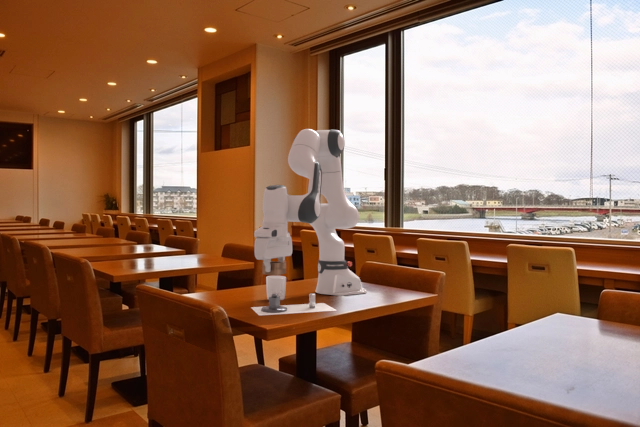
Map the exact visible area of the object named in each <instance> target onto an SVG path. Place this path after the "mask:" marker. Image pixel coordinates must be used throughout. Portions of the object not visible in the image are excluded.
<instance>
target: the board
mask: <svg viewBox="0 0 640 427" xmlns="http://www.w3.org/2000/svg"><path fill="white" fill-rule="evenodd" d="M266 306H267V305H266ZM266 306H253V307H250V309H252V310H253V312H255V314H257V315H258V316H259V317H260V316H271V315H272V316H273V315H274V316H275V315H290V314H292V315H293V314H303V313H306V314H308V313H317V312H318V313H321V312H337V311H338V309H335V308H334V307H332V306H330V305H328V304H327V303H324V302H319V303H316V302H315V308H309V303H304V304H303V303H302V304H287V305H286V304H284V305H281V304H280V306H284V307H287V311H285V312H279V313H268V312H263V311H262V310H261V308H262V307H266Z"/></svg>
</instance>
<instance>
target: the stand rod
mask: <svg viewBox="0 0 640 427" xmlns="http://www.w3.org/2000/svg"><path fill="white" fill-rule="evenodd" d="M308 297H309V298H308V304H309V308H315V304H316V293H309V294H308Z"/></svg>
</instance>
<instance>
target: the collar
mask: <svg viewBox="0 0 640 427" xmlns="http://www.w3.org/2000/svg"><path fill="white" fill-rule="evenodd" d="M270 265H271V267H272V271H271V272H266V271H265V265H264V262H262V275H267V276H283V275H285V274H287V261H284V262H278V261H275V260H273V261H272V260H271V262H270Z"/></svg>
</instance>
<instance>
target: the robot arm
mask: <svg viewBox="0 0 640 427" xmlns="http://www.w3.org/2000/svg"><path fill="white" fill-rule="evenodd" d="M344 150H345V137H344V134H343V133H342V132H341V131H340V130H338V129H318V130H314V129H312V128H305V129H302V130H300V131H299V132H298V133H297V134H296V135H295V137H294V138H293V142H292V144H291V146H290V149H289V152H288V155H287V163H288V166H289V168H290V169H291V170H292V172H294V173H295V174H296V175H298V176H301V177H303V178H306V179H308V188H307V193H305V194H302V195H301V194H300V195H298V194H297V195H296V194H295V195H292V194H290V193H289V194H288V191H287V186H286V185H282V184H272V185H271V184H270V185H267V186H266V187H265V188H264V191H263V196H262V213H263V218H262V223H261V226H260V227H258V228H257V229H255V230H254V233H253V235H254V236H253V237H254V238H255V240H254V246H253V247H254V257H255V259H256V260H259V261H260V260H261V261H263V262H262V263H264V265H265V271H266V272H271V271H272V267H271V265H270V262H271V261H272V259H277V260H278V261H277V262H286V257H291V256H292V254H293V239H292V236H291V233H290V232H289V231H288V228H289V227H288V226H289V225H288V224H289V222H291V223H294V222H296V223H306V224H308V225H310V226H311V227H312V228H313V230H314V232H315V234H316V236H317V240H318V250H319V251H318V252H319V253H318V254H319V257H318V260H317V261H318V264H317V271H318V272H317V273H318V276H317V284H316V288H315V294H316V293H317V294H319V295H320V294H321V295H328V296H329V295H331V296H340V297H341V296H352V295H360V294H367V289H365V288H364V287H362V280H361V279H360V278H361V277H359V276H358V275H357V274H356V273H354V272H353V271H352V270H350V269H349V267H352V261H347V260H346V259H345V252H346V251H345V248H346V247H345V246H346V245H345V241H344V240H343V239H342V238H340V237H339V236H338V233H337V231H336V229H338V230H347V229H352V228H355V227H356V225H358V222H359V218H360V212H359V210H358V208H357V207H356V206H355V205H354V204H352V203H351V201H350V200H349V198H348V196H347V195H346V192H345V188H344V182H343V172H342V171H343V170H342V163H341V157H340V155H341V154H342V153H343V151H344ZM321 196H323V197H324V198H325V200H326V201H327V203H321Z"/></svg>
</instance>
